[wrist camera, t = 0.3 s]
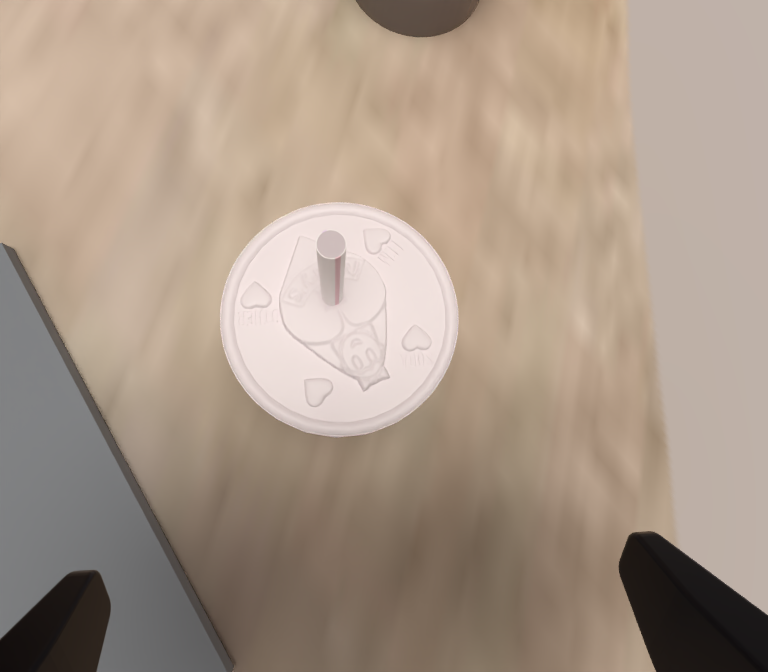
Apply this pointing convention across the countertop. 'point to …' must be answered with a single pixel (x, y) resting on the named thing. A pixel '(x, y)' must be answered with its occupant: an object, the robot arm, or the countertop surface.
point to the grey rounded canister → (419, 15)
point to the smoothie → (339, 319)
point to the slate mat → (82, 503)
